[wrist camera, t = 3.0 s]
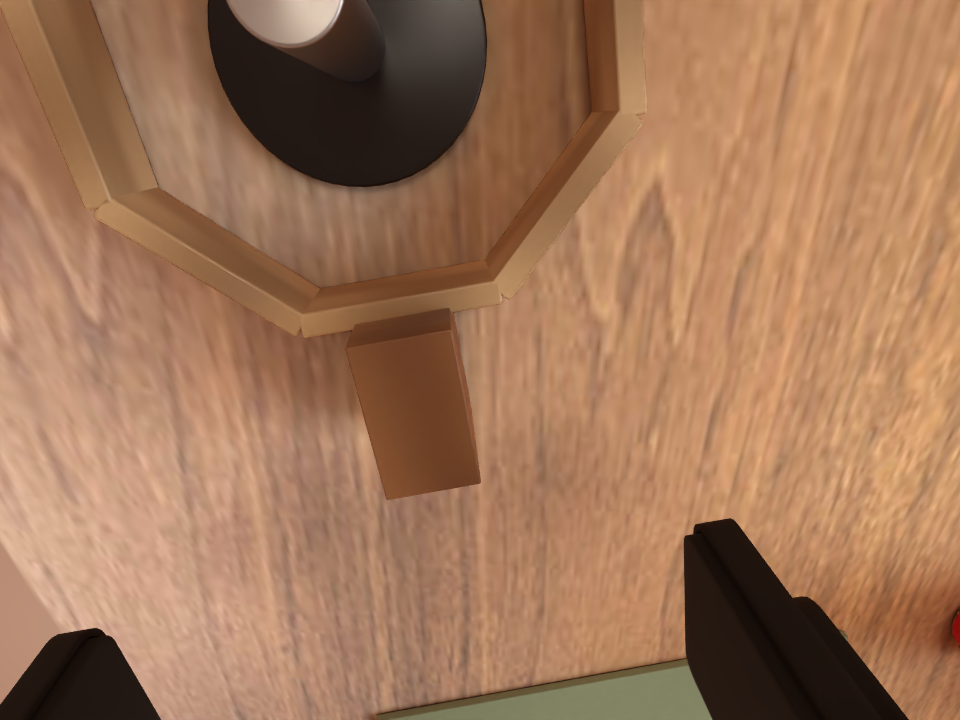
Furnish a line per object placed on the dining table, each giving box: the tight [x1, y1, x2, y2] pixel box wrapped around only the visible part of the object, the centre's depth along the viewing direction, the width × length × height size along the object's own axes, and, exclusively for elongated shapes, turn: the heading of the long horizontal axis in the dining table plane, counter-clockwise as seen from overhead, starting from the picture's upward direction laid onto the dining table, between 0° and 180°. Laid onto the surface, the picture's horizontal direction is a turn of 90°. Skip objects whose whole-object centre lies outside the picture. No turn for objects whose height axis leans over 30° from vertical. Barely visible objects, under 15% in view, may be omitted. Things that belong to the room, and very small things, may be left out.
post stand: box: [208, 0, 487, 187], centre depth 13 cm, size 8×8×9 cm
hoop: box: [0, 0, 647, 500], centre depth 16 cm, size 16×21×5 cm
